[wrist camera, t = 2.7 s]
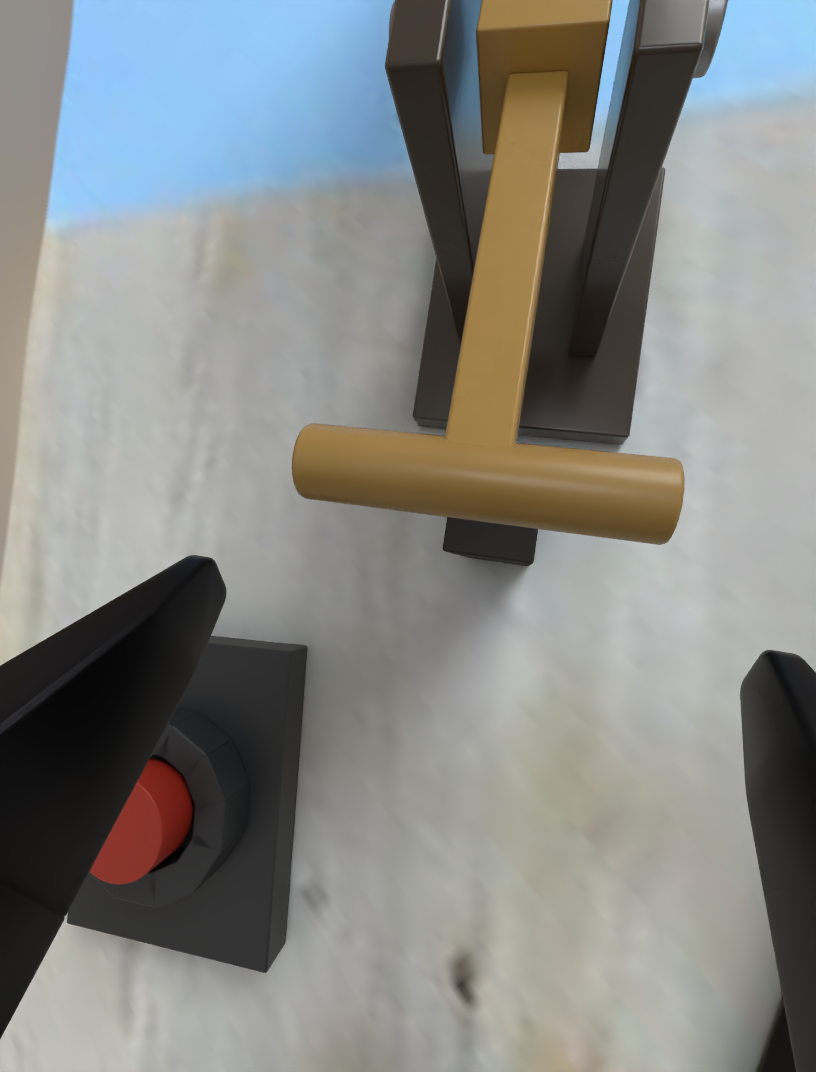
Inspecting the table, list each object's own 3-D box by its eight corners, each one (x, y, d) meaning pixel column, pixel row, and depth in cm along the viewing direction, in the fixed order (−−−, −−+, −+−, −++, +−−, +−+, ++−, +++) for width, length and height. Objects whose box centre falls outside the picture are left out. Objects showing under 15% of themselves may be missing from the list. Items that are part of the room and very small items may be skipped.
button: (189, 866, 19) (156, 895, 17) (105, 848, 20) (65, 874, 18) (197, 765, 19) (166, 784, 18) (113, 751, 20) (76, 768, 18)
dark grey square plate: (286, 943, 21) (241, 1013, 18) (98, 899, 23) (25, 955, 20) (308, 645, 22) (269, 659, 19) (123, 626, 24) (57, 635, 20)
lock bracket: (623, 445, 20) (795, 230, 7) (417, 425, 22) (275, 226, 9) (657, 189, 20) (878, -429, 8) (452, 191, 22) (362, -311, 9)
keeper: (529, 566, 20) (533, 563, 14) (467, 557, 21) (441, 550, 14) (540, 489, 20) (549, 449, 14) (478, 482, 21) (457, 440, 14)
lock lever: (647, 558, 9) (694, 527, 7) (322, 513, 10) (268, 475, 8) (699, 37, 11) (750, -127, 9) (419, 55, 12) (397, -82, 10)
